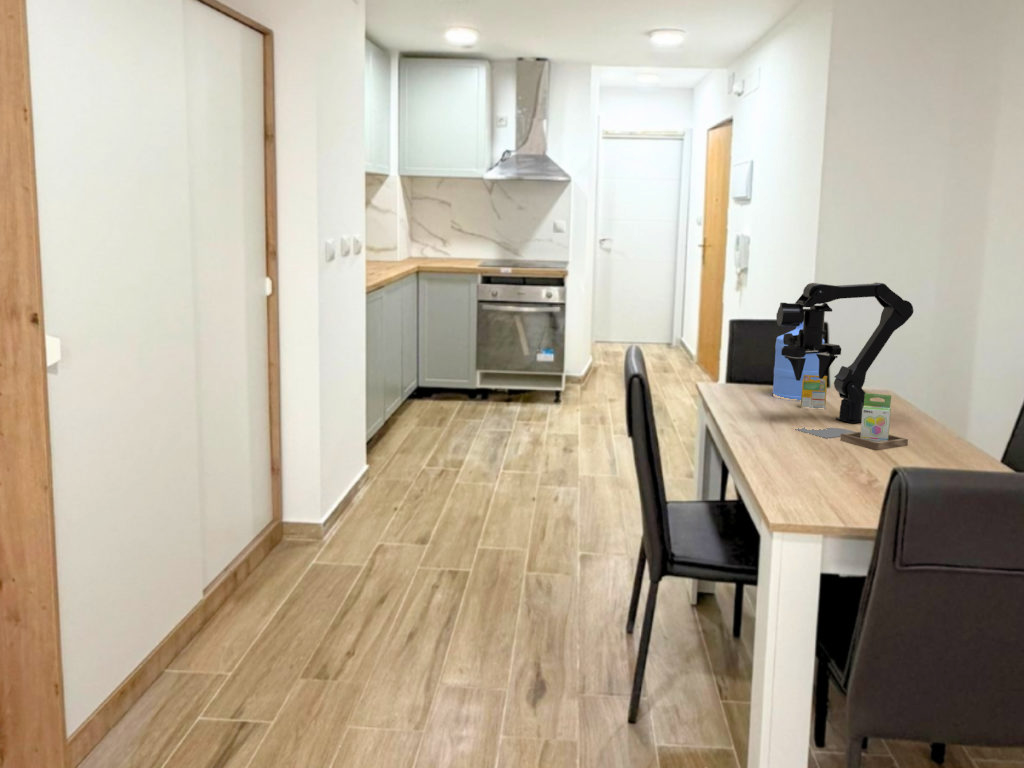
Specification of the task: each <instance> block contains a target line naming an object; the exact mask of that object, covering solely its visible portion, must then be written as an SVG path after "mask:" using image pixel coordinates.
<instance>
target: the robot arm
mask: <svg viewBox="0 0 1024 768" xmlns="http://www.w3.org/2000/svg"><path fill="white" fill-rule="evenodd" d="M802 291H803V292H802V294H801V295H800V296H799V297H798V299H797V300H796V301H795V302H794V303H793V302H792V303H791V302H790V303H788V302H780V303H779V306H778V309H777V312H776V325H777V326H778V327H797V326H799V325H800V324H802V323H803V329H800V330H799V335H792V333H788V332H786V333H787V334H786V333H784V338H783V343H784V344H785V345H788V346H784V347H783V348H782V353H781V355H783V356H784V357H785V358H787V359H788V360H789V361H790V362H791V364H792V367H793V371H794V374H795V378H796V380H797V381H800V379H801V376H802V372H803V368H804V364H805V360H806V358H803V357H804V356H805V355H806V354H812V353H820V354H816V355H817V357H818V359H819V378H820V379H823V377H824V376H826V374H827V373H828V370H829V369H830V368H831V366H832V364H833V363H834V361H835V360H836V359H838V357H839V356H840V355H842V347H841V346H840V344H833V343H830V342H829V343H826V342H825V343H824V344H822V342H823V339H824V338H823V337H824V335H827V330H824V325H825V315H826V314H825V313H827V312H829V313H830V312H833V308H831V307H830V306H829V304H828V303H830V302H834V301H837V300H840V299H855V298H856V299H857V298H871V297H872V298H875V300H876V301H877V302H878V304H879V305H881V307H883V309H882V311H881V315H880V320H879V323H878V325H877V327H875V330H874V331H873V332H872V334H871V336H870V337H869V338H868V340H867V341H866V342H865V344H864V346H863V348H861V350H860V352H859V353H858V355H857V356H856V358H855V359H854V360H853V362H852V363H851V364H850V365H849V366H844V365H842V366H841V367H840V369H839V370H838V373H837V374H836V375H834V377H833V378H835V379H834V382H833V387H834V389H835V391H836V392H838V394H839V398H842V399H841V401H840V402H841V403H840V405H839V416H838V417H835V419H836V420H838V421H841V422H846V423H850V424H855V423H861V422H862V409H863V406H864V398H865V393H867V392H866V391H865V390H864V389H863V387H864V384H865V382H866V381H865V380H866V376H867V372H868V371H869V369H870V368H871V366H872V364H873V363H874V362H875V360H876V359H877V357H878V356H879V354H880V353H881V351H882V350H883V349H884V347H885V346H886V344H887V342H888V341H889V339H890V338H891V337H892V335H893V334H894V333H895V331H896V330H897V329H900V327H902V326H903V325H904V324H905V323H906V322H908V320H910V318H911V317H912V316H913V314H914V306H913V304H912V303H911V302H910V301H908V300H906V299H903V298H902V297H901V296H900V295H899V294H897V293H896V292H895V291H893V290H891V288H890V287H889V286H887V284H886V283H883V282H877V281H876V282H873V283H861V284H860V283H859V284H843V285H841V284H840V285H834V284H833V285H832V284H827V283H818V282H817V283H816V282H810V283H808V284H806V286H804V288H803V290H802Z"/></svg>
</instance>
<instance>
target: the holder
mask: <svg viewBox="0 0 1024 768" xmlns="http://www.w3.org/2000/svg"><path fill="white" fill-rule="evenodd" d="M860 436H861V431H855V432H854V433H846V434H841V437H839V439H840V441H841V442H845V443H848V444H850V445H851V444H852V445H856V446H858V447H863V448H866V449H869V450H873V451H882V450H888V449H894V448H900V447H901V448H902V447H906V446H908V445H909V443H908V442H909V439H908V438H905V437H902V436H901V437H900V436H897V435H892V434H889V437H888V441H882V442H873V441H870V440H866V439H862V438H860Z"/></svg>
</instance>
